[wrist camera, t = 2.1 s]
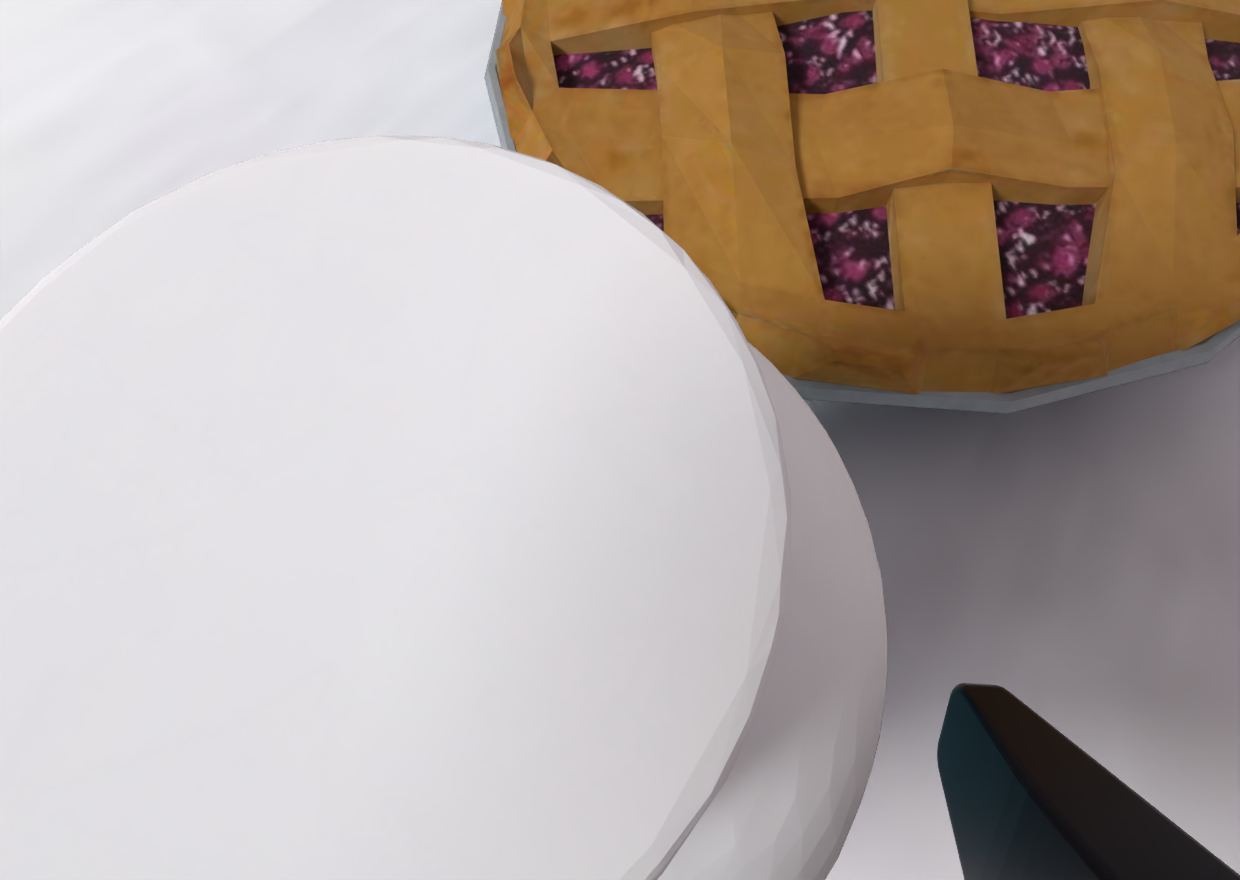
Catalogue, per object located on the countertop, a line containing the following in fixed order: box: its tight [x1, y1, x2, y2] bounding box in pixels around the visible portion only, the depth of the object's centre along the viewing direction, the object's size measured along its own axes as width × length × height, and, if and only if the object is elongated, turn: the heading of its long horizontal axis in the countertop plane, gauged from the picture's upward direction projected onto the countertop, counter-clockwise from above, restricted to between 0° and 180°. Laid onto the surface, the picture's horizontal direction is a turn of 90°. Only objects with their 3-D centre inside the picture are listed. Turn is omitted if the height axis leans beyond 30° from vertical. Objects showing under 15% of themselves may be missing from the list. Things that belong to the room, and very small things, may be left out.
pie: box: [485, 0, 1240, 414], centre depth 19 cm, size 22×22×5 cm
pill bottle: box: [0, 136, 887, 880], centre depth 10 cm, size 8×7×14 cm
